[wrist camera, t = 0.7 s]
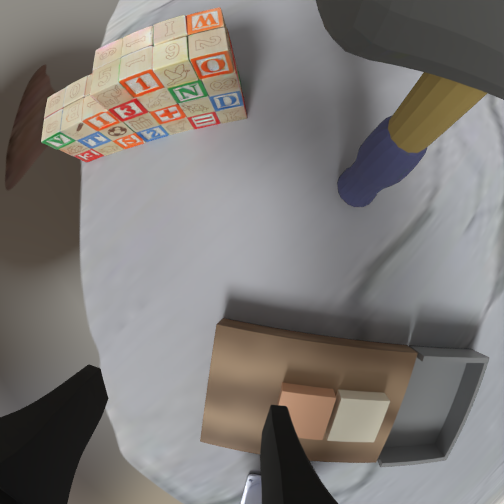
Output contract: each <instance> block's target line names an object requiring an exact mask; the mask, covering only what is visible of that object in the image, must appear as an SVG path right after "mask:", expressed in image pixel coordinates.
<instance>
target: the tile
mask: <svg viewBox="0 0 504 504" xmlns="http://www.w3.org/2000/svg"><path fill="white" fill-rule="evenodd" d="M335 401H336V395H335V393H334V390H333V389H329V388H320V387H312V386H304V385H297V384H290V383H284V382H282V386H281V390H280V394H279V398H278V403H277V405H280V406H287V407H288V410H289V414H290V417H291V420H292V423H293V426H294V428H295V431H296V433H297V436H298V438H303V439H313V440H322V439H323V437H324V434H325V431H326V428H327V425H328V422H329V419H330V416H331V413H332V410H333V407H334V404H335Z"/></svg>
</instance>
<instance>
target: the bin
mask: <svg viewBox="0 0 504 504" xmlns="http://www.w3.org/2000/svg"><path fill="white" fill-rule="evenodd" d="M409 347H410V348H411V349H413V350H414V351H416V352H417V353H418V354H417V357H416V361H415V364H414V368H413V371H412V374H411V377H410V380H409V383H408V386H407V389H406V392H405V395H404V398H403V400H402V403H401V406H400V409H399V411H398V414H397V416H396V419H395V421H394V424H393V426H392V428H391V431H390V433H389V435H388V438H387V440H386V442H385V444H384V447H383V449H382V451H381V453H380V455H379V457H378V459H377V461H378V463H379V465H380V467H392V466H405V465H415V464H423V463H431V462H437V461H444V460H446V459H447V458H448V456H449V454H450V452H451V450H452V448H453V447H454V445H455V443H456V441H457V439H458V437H459V435H460V433H461V431H462V428H463V426H464V424H465V422H466V420H467V417H468V415H469V413H470V410H471V408H472V406H473V403H474V401H475V398H476V396H477V393H478V390H479V388H480V385H481V382H482V379H483V376H484V373H485V370H486V367H487V364H488V361H489V357H487V356H485V355H483V354H481V353H479V352H477V351H475V350H473V349H458V348H439V347H424V346H411V345H409Z"/></svg>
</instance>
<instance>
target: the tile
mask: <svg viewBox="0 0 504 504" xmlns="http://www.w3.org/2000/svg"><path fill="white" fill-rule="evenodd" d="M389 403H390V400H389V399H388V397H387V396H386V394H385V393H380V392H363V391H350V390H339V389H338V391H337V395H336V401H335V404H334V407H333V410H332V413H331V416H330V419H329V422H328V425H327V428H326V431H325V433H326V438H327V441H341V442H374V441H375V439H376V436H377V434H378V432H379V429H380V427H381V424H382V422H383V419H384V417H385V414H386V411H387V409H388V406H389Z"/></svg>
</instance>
